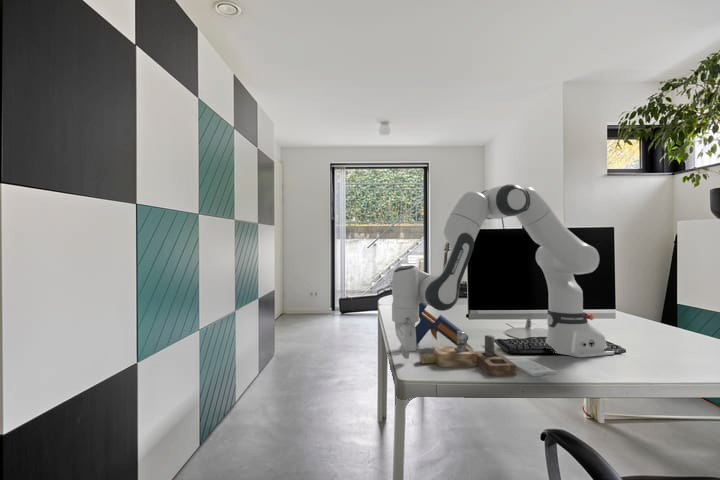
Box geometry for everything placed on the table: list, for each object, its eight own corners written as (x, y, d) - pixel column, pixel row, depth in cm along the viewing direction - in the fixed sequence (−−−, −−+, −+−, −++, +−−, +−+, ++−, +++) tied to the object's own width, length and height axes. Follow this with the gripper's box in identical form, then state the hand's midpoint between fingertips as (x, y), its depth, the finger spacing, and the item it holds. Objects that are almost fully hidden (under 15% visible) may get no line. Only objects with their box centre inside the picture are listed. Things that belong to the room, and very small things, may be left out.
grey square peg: (464, 360, 136) (464, 330, 136) (467, 363, 133) (467, 332, 133) (455, 360, 136) (455, 330, 136) (458, 363, 133) (458, 333, 133)
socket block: (467, 357, 139) (467, 346, 139) (476, 366, 130) (476, 353, 130) (433, 358, 138) (433, 346, 138) (439, 367, 129) (439, 354, 129)
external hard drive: (528, 363, 134) (556, 375, 122) (506, 365, 132) (533, 378, 120) (528, 358, 134) (556, 370, 122) (506, 360, 132) (533, 372, 120)
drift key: (443, 360, 136) (443, 351, 136) (446, 363, 132) (446, 354, 132) (419, 360, 135) (419, 352, 135) (421, 363, 132) (421, 355, 132)
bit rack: (497, 359, 136) (496, 333, 136) (516, 375, 121) (516, 345, 121) (473, 360, 136) (473, 333, 136) (490, 375, 121) (489, 345, 121)
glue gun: (452, 376, 149) (477, 345, 147) (385, 325, 154) (408, 294, 151) (452, 370, 155) (476, 340, 153) (387, 321, 160) (410, 291, 157)
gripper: (421, 321, 123) (421, 367, 123) (409, 309, 143) (410, 348, 144) (400, 322, 123) (400, 367, 123) (392, 309, 143) (392, 348, 143)
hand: (405, 357), depth 133 cm, fingers closed
